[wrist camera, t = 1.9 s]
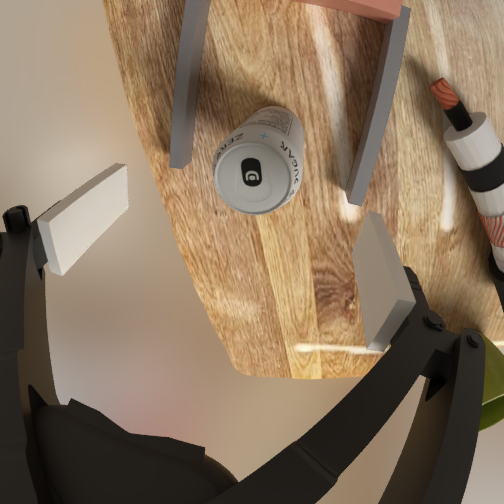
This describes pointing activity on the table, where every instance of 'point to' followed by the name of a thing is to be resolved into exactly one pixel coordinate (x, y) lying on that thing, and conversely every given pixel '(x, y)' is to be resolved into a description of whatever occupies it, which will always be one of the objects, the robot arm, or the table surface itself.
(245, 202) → the energy drink can
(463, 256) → the table surface
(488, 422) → the flower pot
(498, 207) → the cable
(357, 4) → the guide lane
